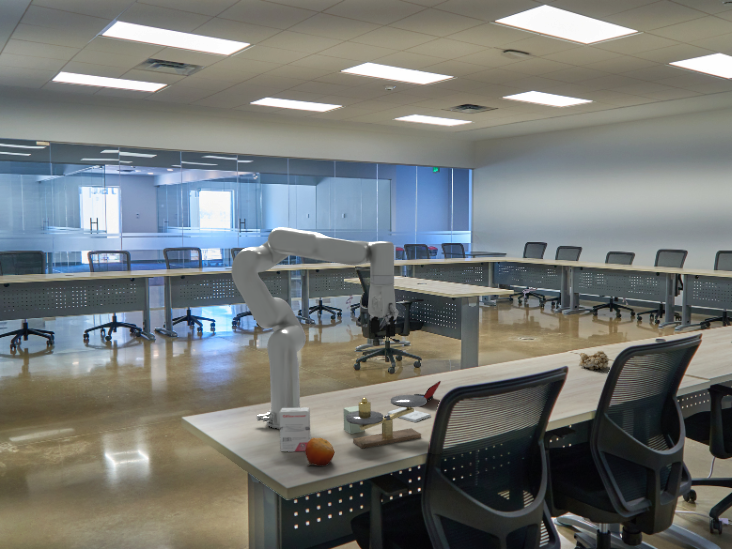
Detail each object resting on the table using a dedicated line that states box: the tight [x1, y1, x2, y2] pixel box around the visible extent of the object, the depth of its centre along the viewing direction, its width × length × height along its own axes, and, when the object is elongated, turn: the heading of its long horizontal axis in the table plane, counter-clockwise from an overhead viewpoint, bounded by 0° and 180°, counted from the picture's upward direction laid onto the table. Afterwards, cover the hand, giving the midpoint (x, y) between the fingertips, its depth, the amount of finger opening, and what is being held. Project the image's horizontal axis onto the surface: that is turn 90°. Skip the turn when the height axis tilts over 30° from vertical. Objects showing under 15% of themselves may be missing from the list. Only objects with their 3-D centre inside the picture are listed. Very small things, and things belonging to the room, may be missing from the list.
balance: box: [346, 394, 428, 449], centre depth 182 cm, size 26×11×14 cm, turn 116°
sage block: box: [343, 405, 366, 435], centre depth 192 cm, size 5×5×7 cm
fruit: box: [304, 437, 336, 468], centre depth 164 cm, size 8×8×8 cm
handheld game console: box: [413, 380, 441, 402], centre depth 224 cm, size 12×11×7 cm
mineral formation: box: [578, 350, 610, 371], centre depth 273 cm, size 8×13×15 cm
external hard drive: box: [387, 407, 432, 423], centre depth 207 cm, size 2×8×12 cm
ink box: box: [279, 406, 312, 452], centre depth 176 cm, size 9×5×12 cm, turn 91°
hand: (382, 334), depth 192 cm, fingers open, 9 cm apart
